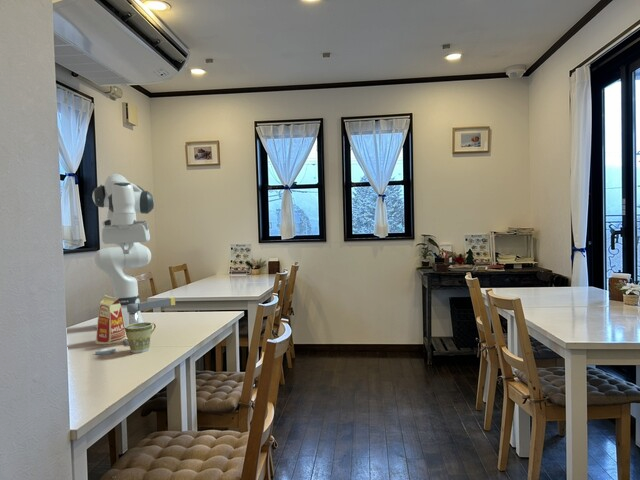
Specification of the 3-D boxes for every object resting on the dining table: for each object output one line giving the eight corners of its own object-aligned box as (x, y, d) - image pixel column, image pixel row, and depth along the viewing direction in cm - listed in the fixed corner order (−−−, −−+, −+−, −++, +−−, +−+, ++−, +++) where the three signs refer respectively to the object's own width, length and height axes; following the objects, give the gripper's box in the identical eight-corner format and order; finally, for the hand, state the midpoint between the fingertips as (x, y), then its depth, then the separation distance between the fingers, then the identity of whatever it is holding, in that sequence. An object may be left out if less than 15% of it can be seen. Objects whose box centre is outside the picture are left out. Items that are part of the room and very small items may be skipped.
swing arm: (130, 313, 187) (129, 305, 187) (125, 312, 190) (125, 304, 190) (175, 304, 202) (175, 297, 201) (171, 303, 205) (170, 296, 205)
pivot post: (123, 342, 192) (120, 312, 191) (142, 338, 196) (140, 309, 196) (127, 346, 185) (125, 315, 185) (147, 342, 190) (145, 312, 189)
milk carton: (95, 343, 192) (92, 296, 191) (112, 337, 201) (109, 292, 200) (112, 344, 189) (108, 296, 188) (128, 338, 198) (125, 293, 197)
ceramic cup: (138, 355, 171) (136, 329, 170) (120, 352, 175) (118, 327, 175) (165, 346, 182) (163, 321, 181) (148, 344, 187) (146, 319, 186)
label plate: (95, 354, 175) (95, 351, 175) (102, 351, 179) (102, 348, 179) (109, 354, 174) (109, 351, 174) (116, 351, 178) (115, 348, 178)
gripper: (151, 219, 192) (154, 252, 193) (108, 222, 196) (110, 254, 196) (143, 219, 186) (145, 253, 186) (98, 222, 189) (101, 255, 190)
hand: (127, 253), depth 191 cm, fingers closed
